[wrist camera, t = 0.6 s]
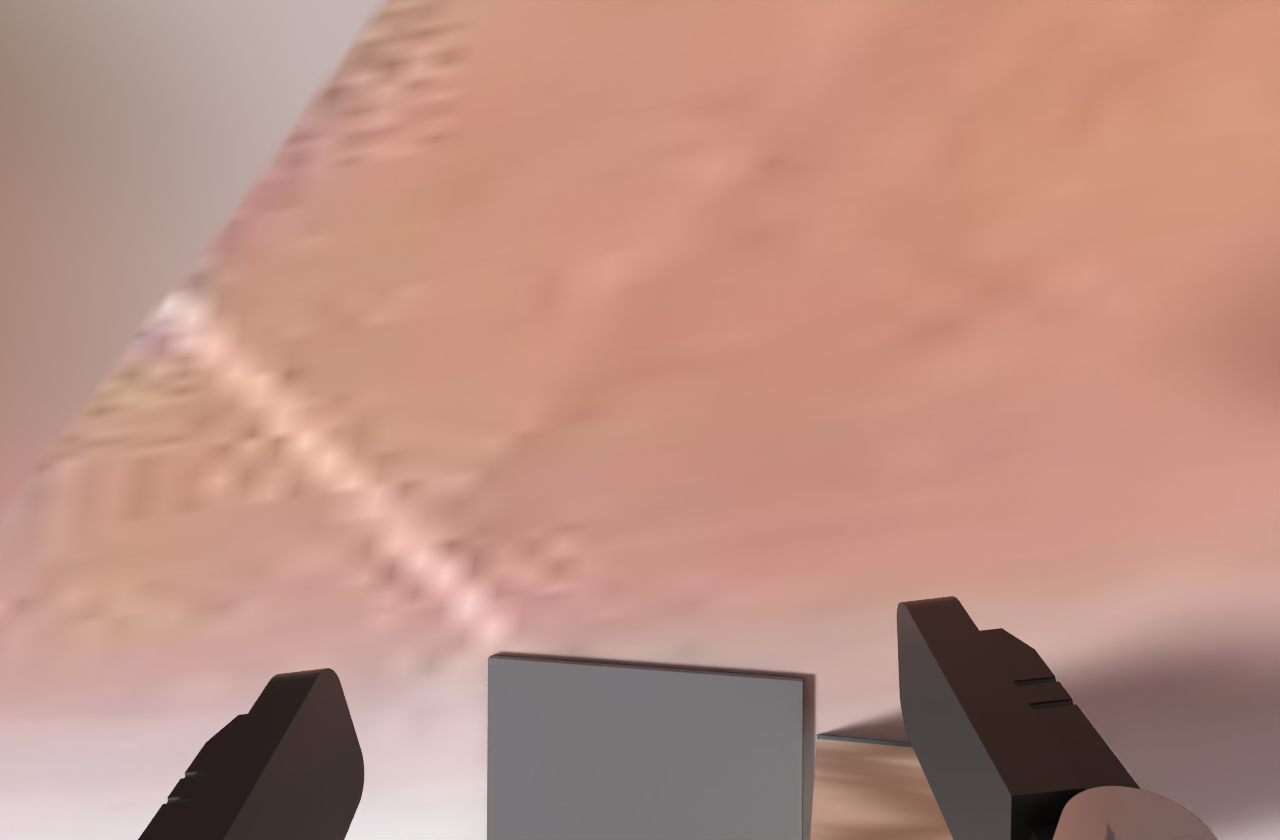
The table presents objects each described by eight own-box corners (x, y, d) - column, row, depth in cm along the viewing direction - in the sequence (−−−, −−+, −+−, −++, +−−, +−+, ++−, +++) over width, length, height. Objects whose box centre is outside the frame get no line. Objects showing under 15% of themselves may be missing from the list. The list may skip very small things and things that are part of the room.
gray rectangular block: (802, 677, 30) (802, 681, 30) (802, 929, 30) (801, 935, 29) (492, 655, 33) (488, 657, 32) (490, 884, 33) (486, 890, 32)
